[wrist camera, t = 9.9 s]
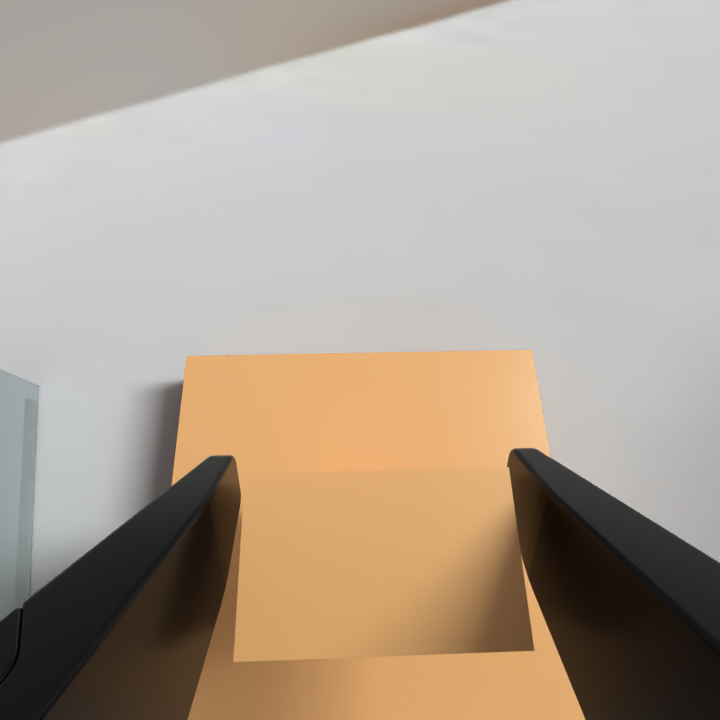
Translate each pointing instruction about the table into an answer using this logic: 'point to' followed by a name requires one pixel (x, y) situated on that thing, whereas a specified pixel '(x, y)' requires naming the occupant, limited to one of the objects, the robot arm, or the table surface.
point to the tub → (16, 487)
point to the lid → (373, 538)
